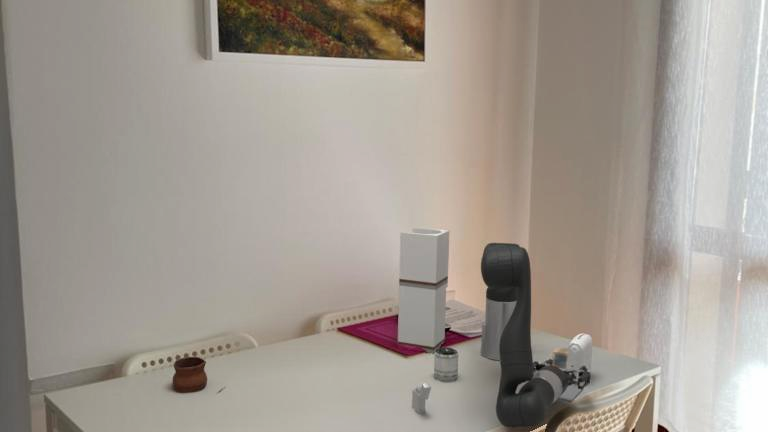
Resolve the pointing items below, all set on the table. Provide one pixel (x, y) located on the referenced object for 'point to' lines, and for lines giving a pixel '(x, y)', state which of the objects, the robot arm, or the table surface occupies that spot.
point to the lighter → (420, 397)
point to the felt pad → (570, 393)
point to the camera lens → (446, 364)
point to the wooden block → (560, 357)
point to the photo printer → (580, 353)
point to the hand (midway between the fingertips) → (567, 366)
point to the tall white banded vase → (423, 288)
